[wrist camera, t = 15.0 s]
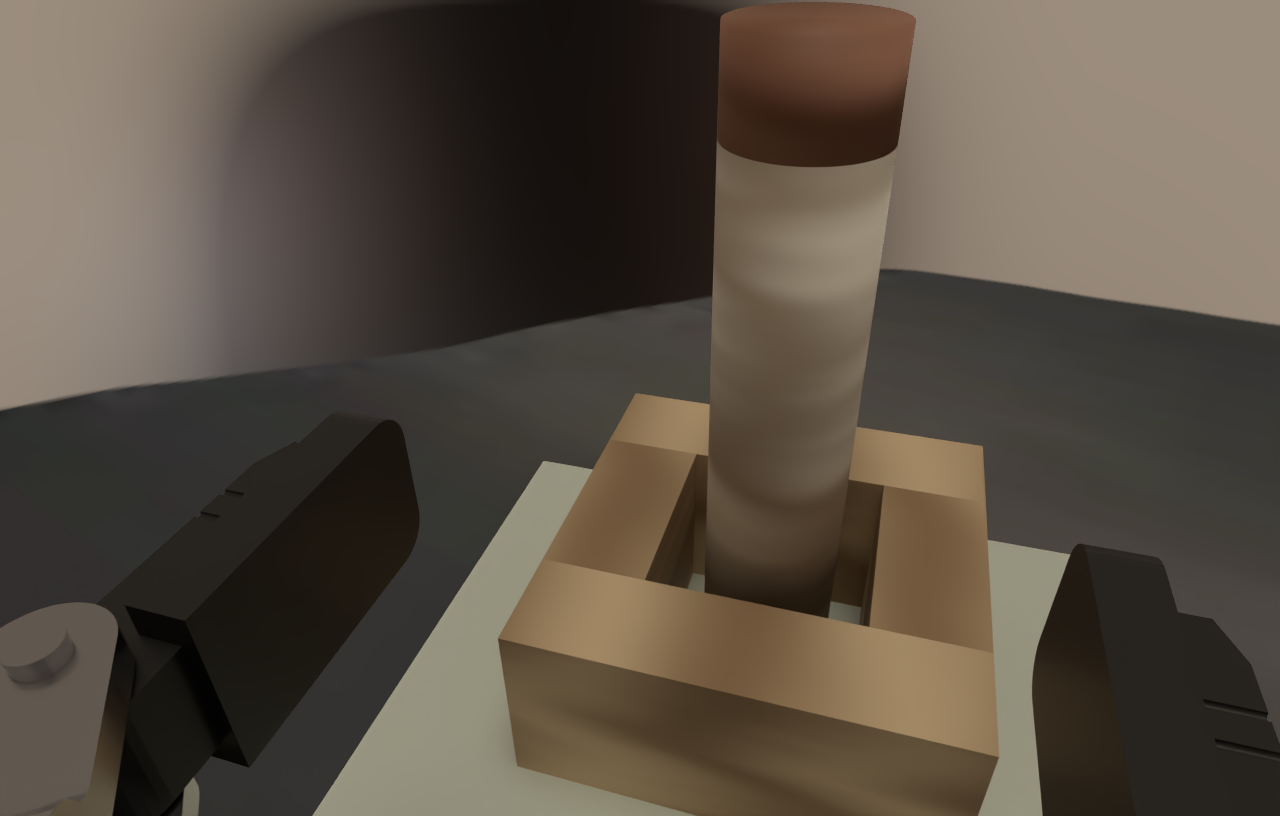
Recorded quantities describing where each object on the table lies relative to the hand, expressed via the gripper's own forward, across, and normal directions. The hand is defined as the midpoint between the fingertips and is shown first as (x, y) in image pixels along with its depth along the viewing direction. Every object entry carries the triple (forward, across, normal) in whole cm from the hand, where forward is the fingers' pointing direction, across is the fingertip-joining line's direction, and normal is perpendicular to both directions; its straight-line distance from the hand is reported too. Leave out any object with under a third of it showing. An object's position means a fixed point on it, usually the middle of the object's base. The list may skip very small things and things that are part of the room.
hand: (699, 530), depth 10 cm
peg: (+8, 0, +12) cm, 14 cm away
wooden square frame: (+8, 0, +12) cm, 14 cm away
